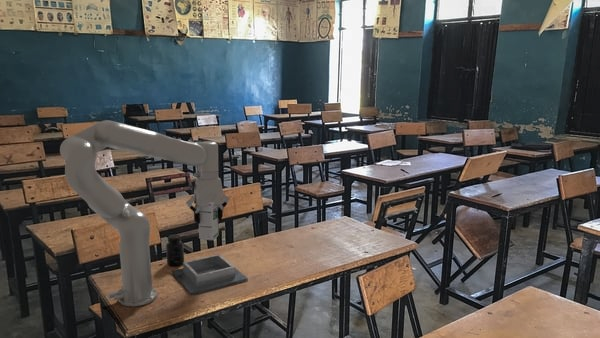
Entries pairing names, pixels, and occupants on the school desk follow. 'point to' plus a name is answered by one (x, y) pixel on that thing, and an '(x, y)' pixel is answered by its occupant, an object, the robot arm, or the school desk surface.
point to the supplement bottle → (174, 251)
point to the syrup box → (209, 222)
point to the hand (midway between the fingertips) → (208, 220)
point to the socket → (208, 274)
